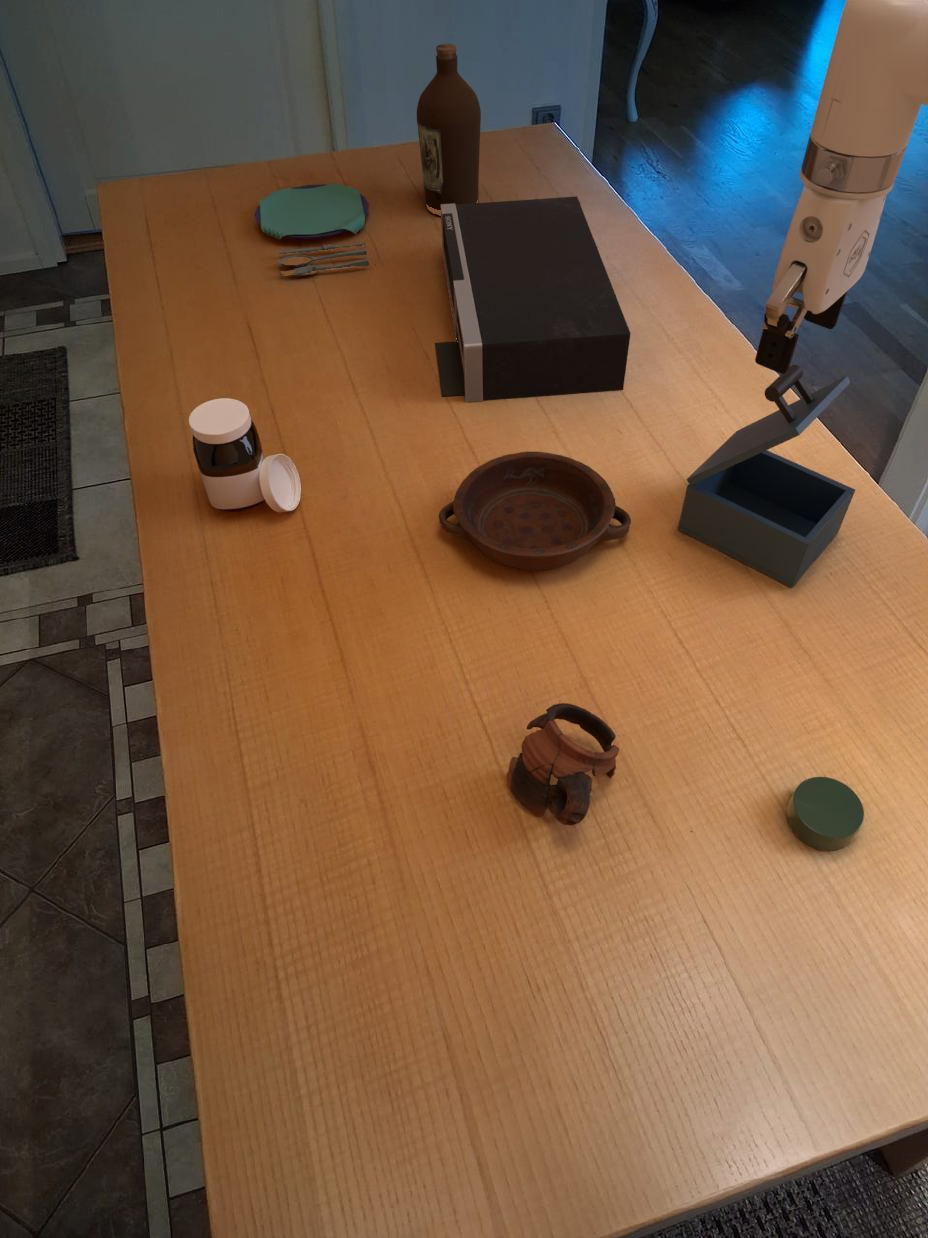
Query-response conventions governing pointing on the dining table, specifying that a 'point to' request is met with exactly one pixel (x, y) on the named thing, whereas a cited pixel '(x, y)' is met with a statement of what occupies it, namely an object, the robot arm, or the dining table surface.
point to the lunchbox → (767, 514)
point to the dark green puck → (825, 813)
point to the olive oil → (449, 134)
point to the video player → (528, 303)
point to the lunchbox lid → (772, 423)
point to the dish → (534, 510)
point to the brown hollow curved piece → (561, 764)
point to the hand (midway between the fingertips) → (795, 344)
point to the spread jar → (239, 460)
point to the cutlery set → (314, 219)
